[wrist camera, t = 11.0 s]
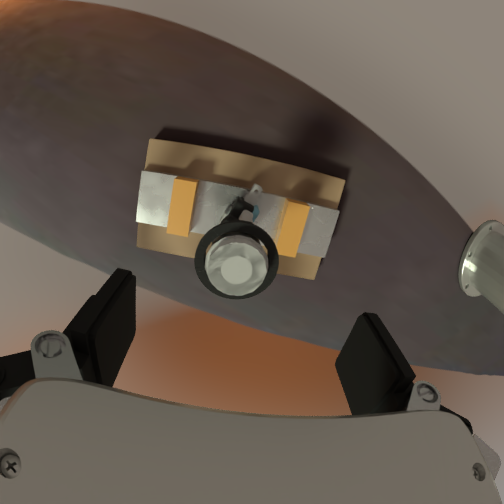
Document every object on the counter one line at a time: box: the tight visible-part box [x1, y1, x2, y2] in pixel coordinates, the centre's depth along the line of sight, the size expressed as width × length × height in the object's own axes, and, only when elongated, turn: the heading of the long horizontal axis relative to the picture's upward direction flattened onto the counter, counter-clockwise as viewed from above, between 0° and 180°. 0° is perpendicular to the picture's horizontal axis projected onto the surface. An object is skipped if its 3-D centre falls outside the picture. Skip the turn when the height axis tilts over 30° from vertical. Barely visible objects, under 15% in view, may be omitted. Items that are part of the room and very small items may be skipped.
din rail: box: [136, 170, 340, 258], centre depth 26 cm, size 19×5×1 cm, turn 77°
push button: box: [194, 183, 279, 299], centre depth 21 cm, size 7×5×10 cm
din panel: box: [137, 139, 345, 280], centre depth 27 cm, size 19×11×2 cm, turn 77°
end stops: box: [166, 176, 310, 258], centre depth 25 cm, size 12×5×2 cm, turn 77°
